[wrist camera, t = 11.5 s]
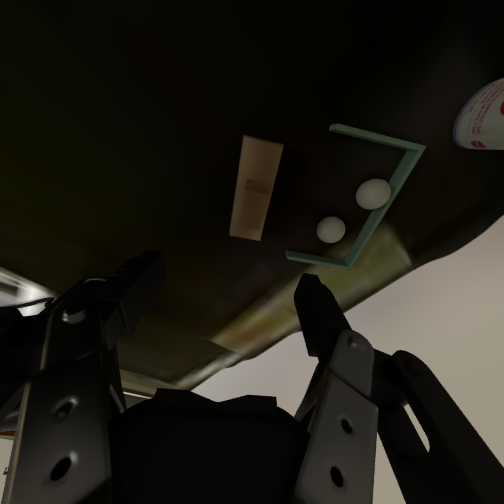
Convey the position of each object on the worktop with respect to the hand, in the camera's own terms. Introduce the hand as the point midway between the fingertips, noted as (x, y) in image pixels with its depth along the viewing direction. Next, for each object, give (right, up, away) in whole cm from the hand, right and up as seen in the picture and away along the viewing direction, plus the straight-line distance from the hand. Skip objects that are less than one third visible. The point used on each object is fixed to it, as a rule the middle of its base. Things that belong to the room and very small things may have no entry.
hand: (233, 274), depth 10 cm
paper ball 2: (+18, +9, +14) cm, 25 cm away
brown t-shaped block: (+1, +11, +16) cm, 19 cm away
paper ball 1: (+13, +5, +17) cm, 22 cm away
